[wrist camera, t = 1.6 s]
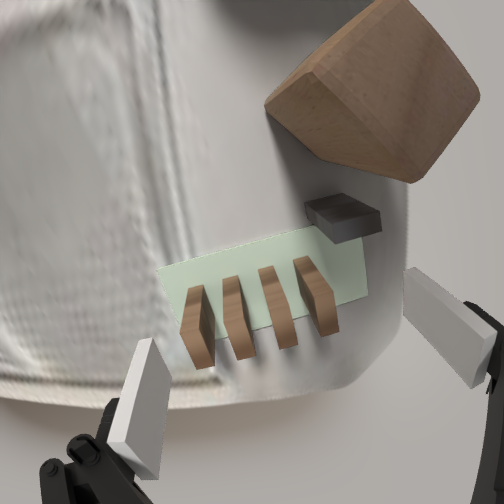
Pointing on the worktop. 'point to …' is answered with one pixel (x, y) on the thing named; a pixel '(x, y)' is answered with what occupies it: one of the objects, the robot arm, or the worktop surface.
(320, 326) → the domino
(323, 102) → the block
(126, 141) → the worktop surface
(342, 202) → the dark gray domino
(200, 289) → the domino end
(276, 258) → the mat
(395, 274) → the worktop surface
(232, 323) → the domino
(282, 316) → the domino
